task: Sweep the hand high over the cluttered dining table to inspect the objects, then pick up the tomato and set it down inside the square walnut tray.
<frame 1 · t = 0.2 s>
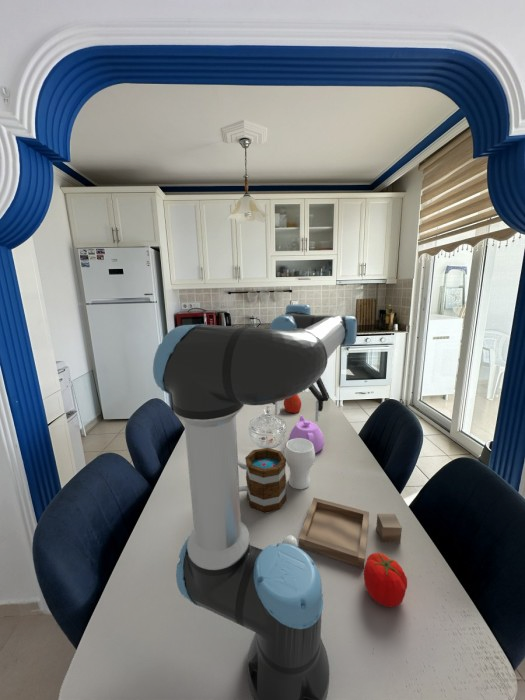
hand: (297, 416, 99), 28 cm above the table, fingers open, 13 cm apart
tomato: (382, 593, 70), on the table
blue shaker: (290, 566, 77), on the table
mug: (257, 498, 101), on the table
walnut block: (387, 535, 86), on the table
teapot: (306, 446, 133), on the table
cup: (299, 482, 109), on the table
apple: (292, 410, 170), on the table
tray: (335, 533, 87), on the table
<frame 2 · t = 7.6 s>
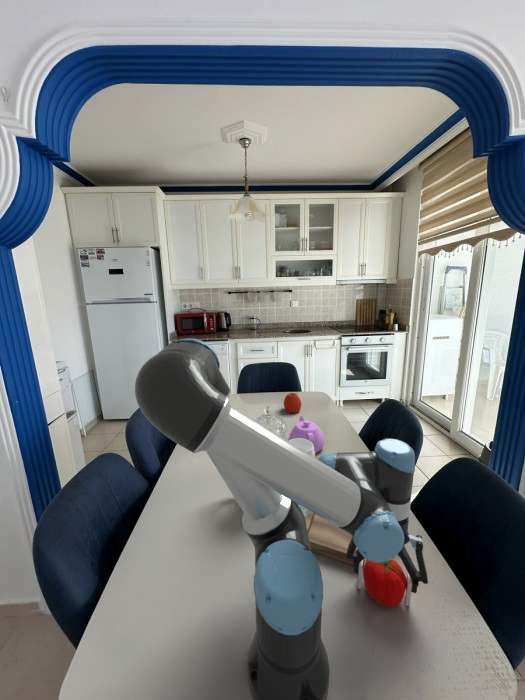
hand: (382, 591, 70), 0 cm above the table, fingers closed on tomato, 10 cm apart
tomato: (382, 592, 70), on the table, touching gripper
everything else where it was.
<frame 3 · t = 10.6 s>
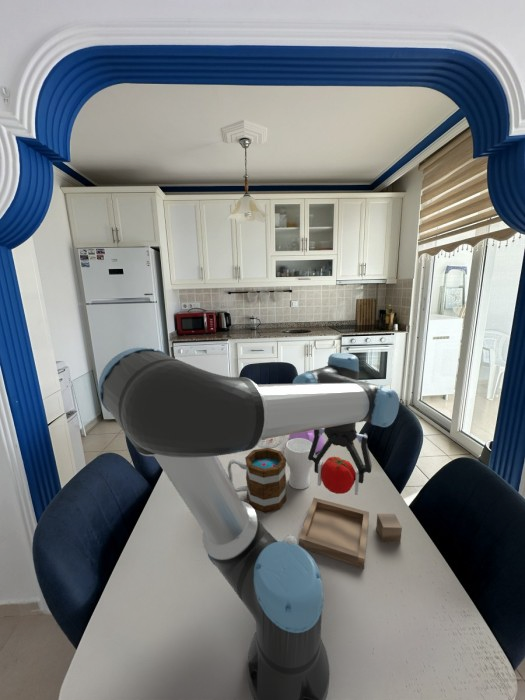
hand: (337, 487, 83), 15 cm above the table, fingers closed on tomato, 9 cm apart
tomato: (336, 488, 83), point 15 cm above the table, touching gripper
everything else where it was.
when the fingers open (3 cm above the table, at t = 13.3 s): tomato drops 2 cm, resting on tray.
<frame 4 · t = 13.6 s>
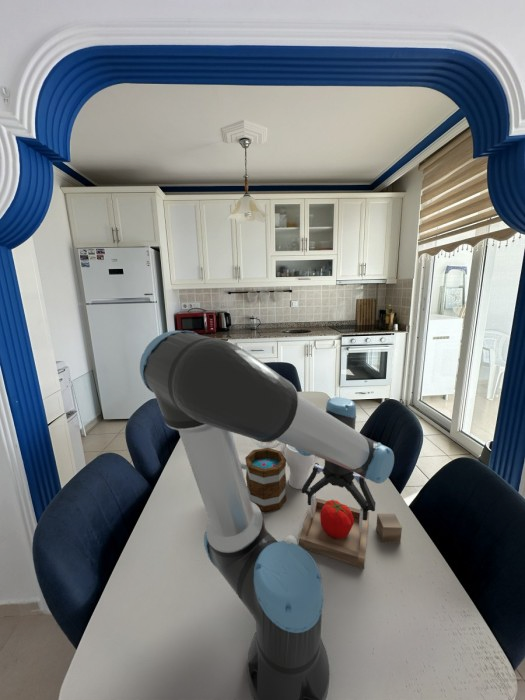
hand: (336, 521, 86), 4 cm above the table, fingers open, 13 cm apart
tomato: (335, 531, 86), point 1 cm above the table, touching tray
everything else where it was.
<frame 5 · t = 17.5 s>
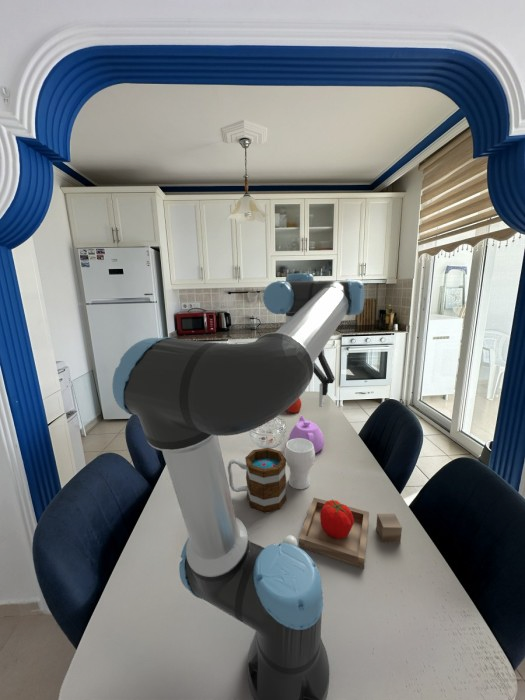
hand: (298, 402, 88), 37 cm above the table, fingers open, 13 cm apart
nothing on the table moved.
at the end: tomato inside the target area on the tray (0.1 cm from its centre), point 0.6 cm above the tray's base; the gripper is holding nothing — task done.
